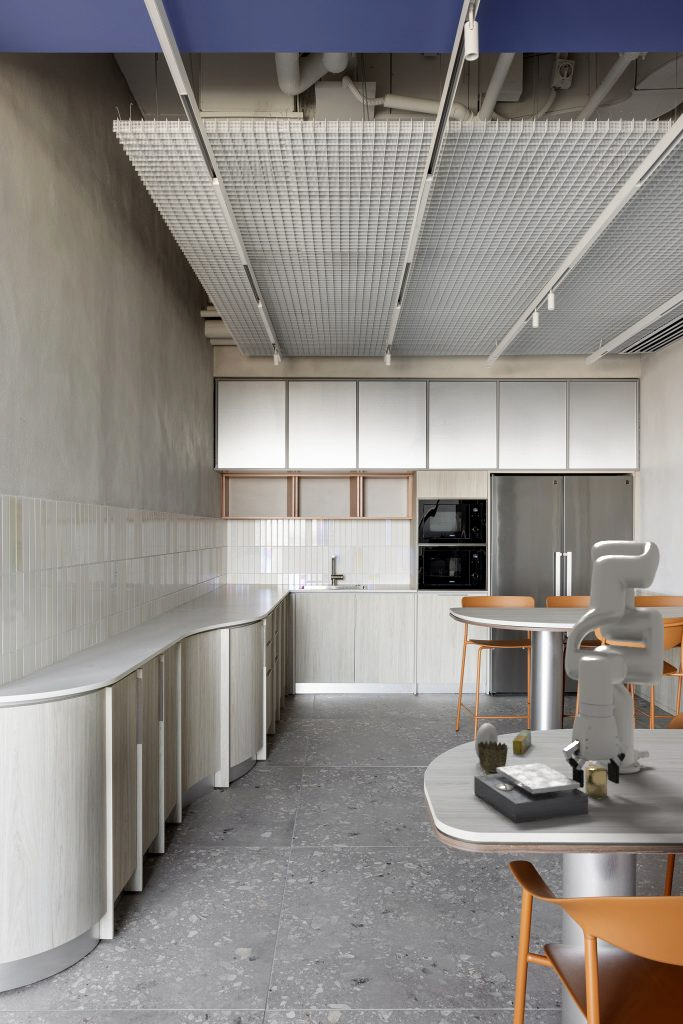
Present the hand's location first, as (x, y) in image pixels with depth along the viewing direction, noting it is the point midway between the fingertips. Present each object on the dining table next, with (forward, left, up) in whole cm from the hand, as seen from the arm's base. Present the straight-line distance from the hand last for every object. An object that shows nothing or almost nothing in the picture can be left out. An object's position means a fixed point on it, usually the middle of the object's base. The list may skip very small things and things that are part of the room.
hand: (596, 783), depth 165 cm
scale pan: (+16, 0, +2) cm, 16 cm away
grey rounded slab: (+12, -30, -3) cm, 33 cm away
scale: (+18, 0, -3) cm, 18 cm away
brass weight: (0, 0, -3) cm, 3 cm away
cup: (+17, -18, -3) cm, 25 cm away
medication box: (-4, -38, -3) cm, 38 cm away
